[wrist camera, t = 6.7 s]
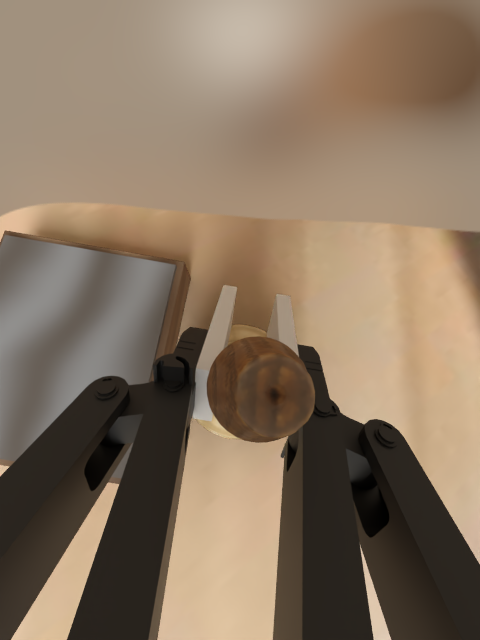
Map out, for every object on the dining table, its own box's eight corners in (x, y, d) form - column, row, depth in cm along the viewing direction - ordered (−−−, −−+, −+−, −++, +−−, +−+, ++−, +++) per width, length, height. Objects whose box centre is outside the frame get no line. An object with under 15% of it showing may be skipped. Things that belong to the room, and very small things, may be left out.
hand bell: (253, 304, 21) (315, 95, 5) (315, 395, 20) (646, 482, 4) (162, 362, 20) (-110, 318, 4) (221, 462, 18) (150, 959, 3)
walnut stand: (190, 278, 24) (183, 259, 20) (149, 466, 21) (132, 489, 17) (37, 251, 24) (0, 227, 20) (-28, 438, 21) (-88, 453, 17)
